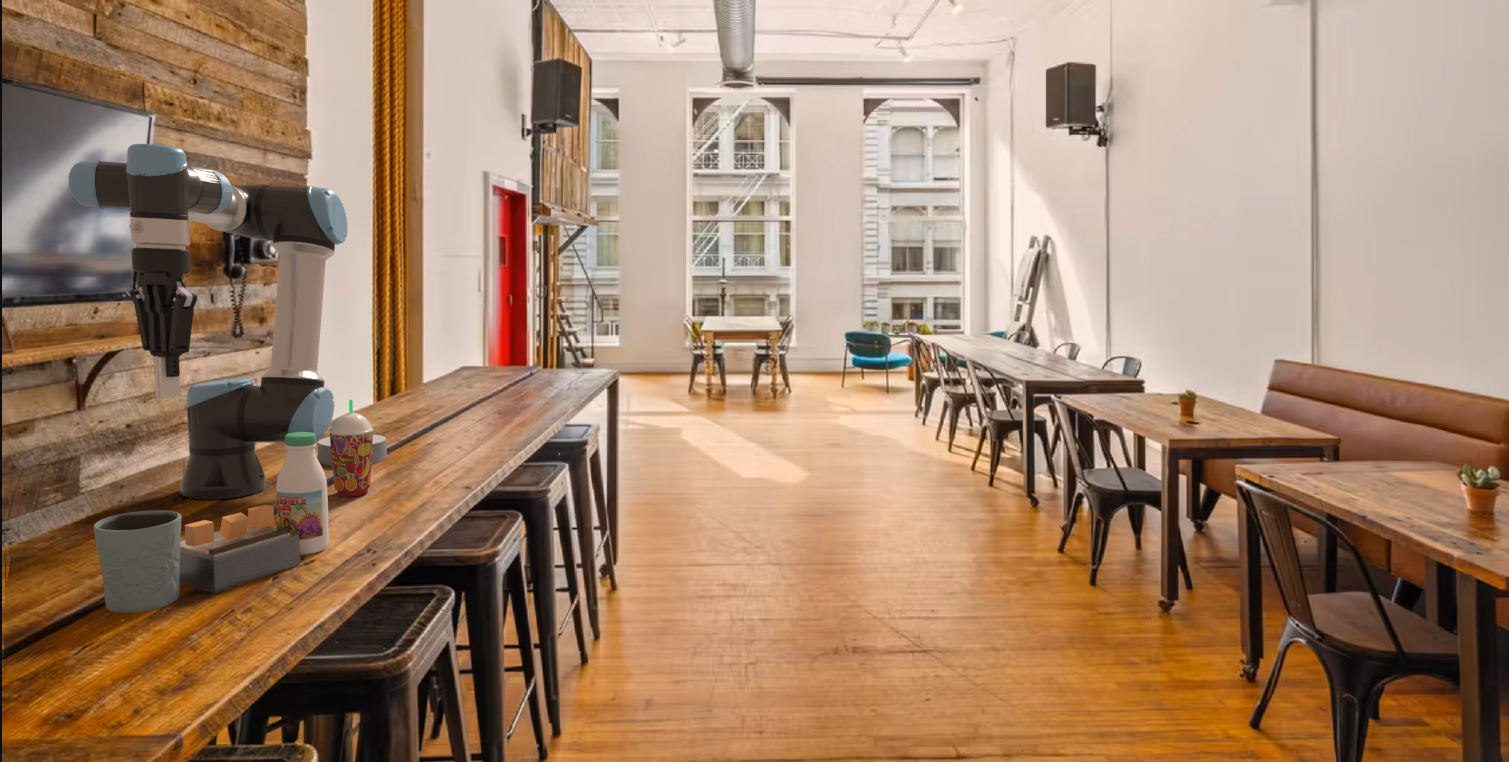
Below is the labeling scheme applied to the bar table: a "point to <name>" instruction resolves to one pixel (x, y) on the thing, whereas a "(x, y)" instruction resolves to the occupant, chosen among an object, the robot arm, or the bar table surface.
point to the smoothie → (351, 453)
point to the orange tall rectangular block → (199, 533)
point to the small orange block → (234, 526)
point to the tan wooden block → (261, 516)
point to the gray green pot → (139, 559)
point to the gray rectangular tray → (237, 559)
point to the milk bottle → (303, 494)
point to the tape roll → (377, 450)
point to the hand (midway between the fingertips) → (168, 396)
